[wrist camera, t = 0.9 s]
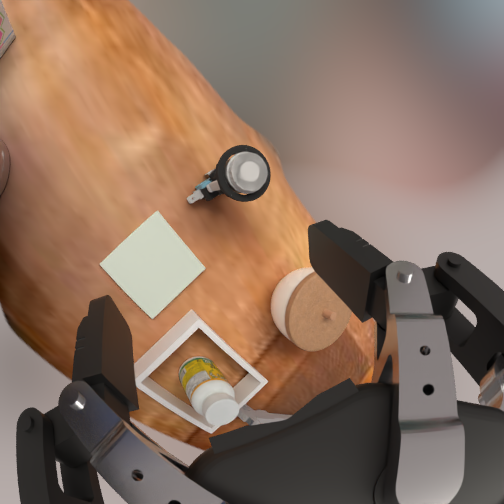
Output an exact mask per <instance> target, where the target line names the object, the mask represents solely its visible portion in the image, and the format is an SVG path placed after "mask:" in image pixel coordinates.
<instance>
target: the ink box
mask: <svg viewBox="0 0 504 504" xmlns="http://www.w3.org/2000/svg"><path fill="white" fill-rule="evenodd" d="M15 37H16V36H15V33H14V31H13V29H12V26H11V24H10V22H9V19H8V17H7V14H6V12H5V9H4V6H3V4H2V1H1V0H0V58H1V56H2V55H3V54H4V52H5V51H6V49H7V48H8V47H9V45H10V44H11V43H12V41H13V40H14V39H15Z"/></svg>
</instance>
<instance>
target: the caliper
mask: <svg viewBox="0 0 504 504" xmlns="http://www.w3.org/2000/svg"><path fill="white" fill-rule="evenodd" d="M237 416H238V417H239V418H240V419H241V420H242V421H243V422H247V423H248V424H249V425H257V424H259V423H270V422H276V421H282V420H286V419H288V418H289V417H291V416H292V415H284V414H273V413H268V412H267V411H265V410H253V409H252V408H250V407H249V406H248V405H246V404H244V405H243V406H242V407H241V408H240V409H239V413H238V415H237Z"/></svg>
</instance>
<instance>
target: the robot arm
mask: <svg viewBox="0 0 504 504" xmlns="http://www.w3.org/2000/svg"><path fill="white" fill-rule="evenodd" d="M9 168H10V158H9V153H8V149H7V147H6V145H5V143H4V142H3V141H2V140H1V139H0V195H1V194H2V192H3V190H4V188H5V185H6V182H7V179H8V175H9ZM308 240H309V258H310V263H311V265H312V268H313V269H314V271H315V272H316V273H317V274H318V275H319V276H320V277H321V279H322V280H323V281H324V282H325V283H326V284H327V285H328V286H329V287H330V288H331V289H332V290H333V291H334V292H335V293H336V295H337V296H338V297H339V298H340V299H341V300H342V301H343V302H344V303H345V304H346V305H347V306H348V307H349V309H350V310H351V311H352V312H353V313H354V314H355V315H356V316H357V317H358V318H359V319H360V321H361V322H362V323H363V322H365V321H367V320H368V319H370V318H372V317H373V318H374V319H375V351H374V371H373V376H372V381H371V383H364V384H358V385H354V383H353V382H352V381H351V379H350V378H349V379H347V380H345V381H343V382H341V383H340V384H338V385H336V386H334V387H332V388H330V389H328V390H326V391H325V392H323V393H321V394H319V395H317V396H316V397H315V398H314V399H312V400H311V401H310V402H309V403H307V404H306V405H305V406H304V407H302V408H301V409H300V410H299V411H297V412H296V413H295V414H294V415H292V416H291V417H289V418H288V419H286V420H282V421H276V422H270V423H264V424H257V425H250V426H244V427H241V428H239V429H236V430H233V431H230V432H227V433H224V434H221V435H217V436H214V437H211V438H209V440H210V443H211V445H212V447H211V448H209V449H207V450H206V451H205V452H203V453H202V454H201V455H200V456H198V457H197V458H196V459H195V460H194V461H193V463H192V464H191V465H190V466H188V465H186V464H185V463H183V462H182V461H180V460H179V459H177V458H176V457H174V456H173V455H171V454H170V453H169V452H167V451H166V450H165V449H163V448H162V447H161V446H160V445H158V444H157V443H156V442H155V441H153V440H152V439H151V438H150V437H148V436H147V435H146V434H145V433H144V432H143V431H142V430H140V429H139V428H138V427H137V426H136V425H135V424H134V423H133V422H131V421H130V416H129V412H130V411H134V410H138V409H139V405H138V398H137V390H136V381H135V372H134V361H133V347H132V335H131V332H130V329H129V326H128V324H127V322H126V321H125V319H124V318H123V316H122V314H121V313H120V311H119V310H118V308H117V306H116V305H115V303H114V301H113V300H112V298H111V297H110V296H109V295H106V296H103V297H100V298H97V299H94V300H92V301H90V304H89V311H88V316H86V317H84V318H83V320H82V321H81V323H80V325H79V327H78V331H77V338H76V340H77V341H76V346H75V349H76V350H75V354H74V364H73V375H72V383H70V384H69V385H67V386H66V387H65V388H64V390H63V391H62V393H61V395H60V397H59V403H58V404H59V406H57V407H55V408H54V409H52V410H50V411H48V412H47V413H45V414H42V413H41V412H40V411H39V410H37V409H36V408H28V409H26V410H24V411H23V412H22V414H21V415H20V417H19V419H18V422H17V432H16V453H17V454H16V456H17V474H18V486H19V494H20V501H21V504H104V501H103V497H102V493H101V489H100V485H99V480H98V475H97V472H98V473H99V474H100V475H101V476H102V477H103V478H104V479H105V481H106V482H107V483H108V484H109V485H110V486H111V487H112V488H113V489H114V490H115V491H116V492H117V493H118V494H119V495H120V496H121V497H122V498H123V499H124V500H125V501H126V502H127V503H128V504H504V291H503V290H502V289H501V288H500V287H499V286H498V285H496V284H495V283H494V282H493V281H492V280H490V279H489V278H488V277H487V276H486V275H485V274H483V273H482V272H481V271H480V270H479V269H477V268H476V267H475V266H474V265H472V264H471V263H470V262H469V261H467V260H466V259H465V258H464V257H462V256H461V255H459V254H456V253H452V252H444V253H441V254H440V255H439V256H438V258H437V262H436V266H432V267H428V268H422V269H421V268H420V267H418V266H417V265H415V264H414V263H411V262H408V261H396V262H393V261H392V260H390V259H389V258H388V257H386V256H385V255H384V254H383V253H381V252H380V251H378V250H377V249H376V248H375V247H373V246H372V245H369V243H368V242H367V241H365V240H364V239H362V238H361V237H360V236H358V235H357V234H356V233H354V232H353V231H350V230H347V229H344V228H338V227H337V226H335V225H334V224H333V223H331V222H330V221H328V220H324V221H321V222H318V223H315V224H312V225H310V226H309V227H308ZM458 299H460V300H461V301H462V302H463V303H464V304H465V305H466V306H467V307H468V308H469V309H470V310H471V311H472V312H473V313H474V314H475V315H476V318H477V325H476V327H474V326H473V325H472V324H471V323H470V322H469V321H468V320H467V319H466V318H465V317H464V316H463V315H462V314H461V313H460V312H459V311H458V310H457V309H456V308H455V306H456V303H457V301H458ZM451 353H452V354H453V355H454V356H455V357H456V358H457V360H458V361H459V362H460V363H461V364H462V365H463V367H464V368H465V369H466V370H467V372H468V373H469V374H470V375H471V376H472V378H473V379H474V380H475V381H476V382H477V384H478V385H479V386H480V394H479V396H478V401H479V403H480V404H481V405H479V404H473V403H468V402H463V401H458V400H456V389H455V380H454V373H453V365H452V359H451ZM485 405H486V406H485ZM55 460H56V461H58V462H60V468H61V475H62V482H63V488H64V492H63V491H62V490H61V488H60V486H59V484H58V478H57V470H56V461H55Z"/></svg>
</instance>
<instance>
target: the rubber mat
mask: <svg viewBox="0 0 504 504" xmlns="http://www.w3.org/2000/svg"><path fill="white" fill-rule="evenodd" d="M100 265H101V266H102V268H103V269H104V270H105V271H106V272H107V273H108V274H109V275H110V276H111V278H112V279H113V280H114V281H115V282H116V283H117V284H118V285H119V286H120V287H121V288H122V289H123V290H124V291H125V292H126V293H127V295H128V296H129V297H130V298H131V299H132V300H133V301H134V302H135V303H136V304H137V305H138V306H139V307H140V308H141V309H142V310H143V311H144V312H145V313H146V314H147V315H149V316H150V317H151V318H152V319H153V318H154V317H155V316H156V315H157V314H158V313H160V312H161V311H162V310H163V309H164V308H165V307H166V306H167V305H168V304H169V303H170V302H171V301H172V300H173V299H174V298H175V297H176V296H177V295H178V294H179V293H180V292H181V291H182V290H184V289H185V288H186V287H187V286H188V285H189V284H190V283H191V282H192V281H193V280H194V279H195V278H196V277H197V276H198V275H199V274H200V273H201V272H203V271H204V270H205V269H206V268H205V267H204V266H203V264H202V263H201V262H200V261H199V260H198V259H197V257H196V256H195V255H194V254H193V253H192V252H191V250H190V249H189V248H188V247H187V246H186V244H185V243H184V242H183V241H182V240H181V238H180V237H179V236H178V235H177V234H176V232H175V231H174V230H173V229H172V228H171V226H170V225H169V224H168V223H167V222H166V220H165V219H164V218H163V217H162V215H161V214H160V213H159V212H158V211H156V212H155V213H154V214H153V215H151V216H150V217H149V218H148V219H147V220H146V221H145V222H144V223H142V224H141V225H140V226H139V227H138V228H137V229H136V230H135V231H134V232H133V233H131V234H130V235H129V236H128V237H127V238H126V239H125V240H124V241H123V242H122V243H121V244H120V245H119V246H118V247H117V248H116V249H114V250H113V251H112V252H111V253H110V254H109V255H108V256H107V257H106V258H105V259H104V260H103V261H102V262H101V263H100Z"/></svg>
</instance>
